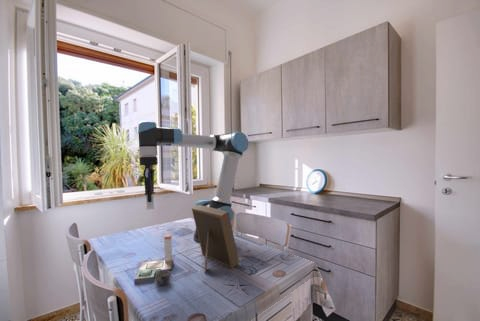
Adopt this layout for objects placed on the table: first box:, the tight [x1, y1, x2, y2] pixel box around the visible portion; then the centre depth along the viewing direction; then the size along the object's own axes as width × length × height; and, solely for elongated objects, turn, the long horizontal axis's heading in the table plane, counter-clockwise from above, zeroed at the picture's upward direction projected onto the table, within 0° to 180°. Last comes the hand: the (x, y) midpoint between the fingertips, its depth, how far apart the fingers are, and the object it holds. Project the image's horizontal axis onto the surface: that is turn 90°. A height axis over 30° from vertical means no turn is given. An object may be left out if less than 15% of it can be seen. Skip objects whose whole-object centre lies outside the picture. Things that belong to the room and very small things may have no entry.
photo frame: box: [191, 205, 240, 274], centre depth 102 cm, size 15×22×25 cm
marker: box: [164, 234, 173, 263], centre depth 103 cm, size 3×3×12 cm
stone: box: [154, 269, 172, 287], centre depth 88 cm, size 10×5×8 cm
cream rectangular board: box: [136, 258, 174, 274], centre depth 99 cm, size 14×10×1 cm
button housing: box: [133, 268, 156, 285], centre depth 90 cm, size 7×7×2 cm
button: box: [140, 269, 151, 277], centre depth 90 cm, size 4×4×3 cm
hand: (150, 208), depth 101 cm, fingers closed
